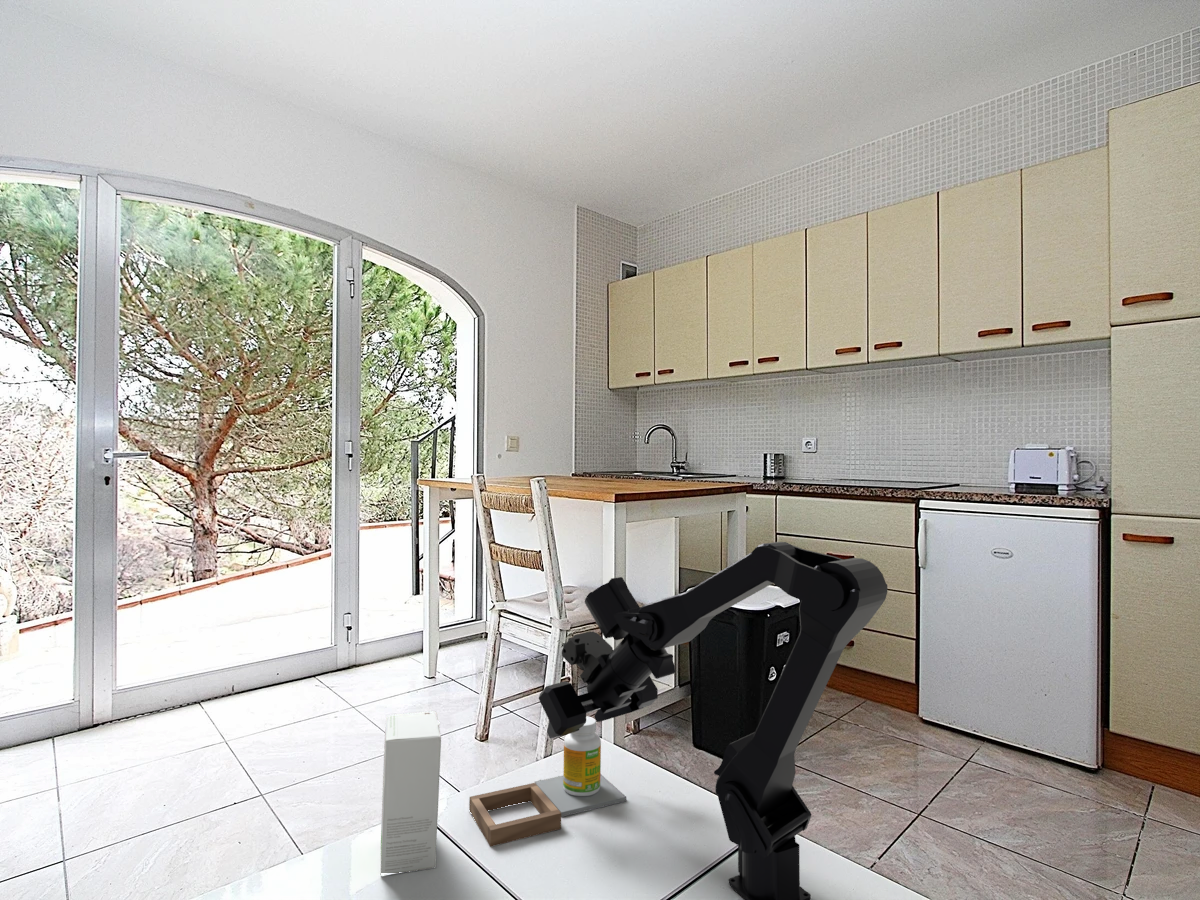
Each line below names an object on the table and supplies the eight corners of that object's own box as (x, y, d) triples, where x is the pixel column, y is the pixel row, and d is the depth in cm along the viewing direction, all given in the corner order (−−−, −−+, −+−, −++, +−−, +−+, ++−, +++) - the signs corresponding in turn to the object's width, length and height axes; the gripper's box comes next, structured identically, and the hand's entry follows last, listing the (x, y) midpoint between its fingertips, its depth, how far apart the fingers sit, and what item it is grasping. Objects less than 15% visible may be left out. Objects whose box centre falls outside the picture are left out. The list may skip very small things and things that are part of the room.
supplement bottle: (587, 801, 91) (588, 730, 92) (555, 791, 94) (556, 722, 94) (607, 785, 96) (607, 718, 96) (576, 777, 98) (577, 711, 99)
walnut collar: (561, 828, 85) (561, 813, 85) (490, 846, 81) (490, 830, 81) (534, 797, 93) (534, 782, 93) (469, 811, 89) (469, 796, 89)
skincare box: (381, 840, 82) (384, 714, 83) (435, 832, 84) (437, 709, 85) (379, 879, 74) (382, 739, 75) (439, 869, 76) (442, 732, 77)
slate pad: (626, 800, 92) (626, 796, 92) (561, 816, 88) (561, 812, 88) (594, 772, 101) (594, 768, 101) (534, 785, 97) (534, 781, 97)
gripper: (643, 608, 99) (593, 667, 107) (548, 627, 87) (499, 692, 94) (684, 672, 93) (628, 729, 101) (588, 702, 81) (532, 765, 88)
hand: (573, 726), depth 96 cm, fingers open, 9 cm apart
